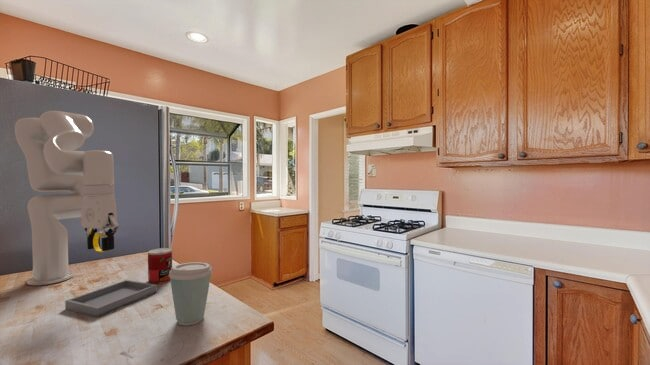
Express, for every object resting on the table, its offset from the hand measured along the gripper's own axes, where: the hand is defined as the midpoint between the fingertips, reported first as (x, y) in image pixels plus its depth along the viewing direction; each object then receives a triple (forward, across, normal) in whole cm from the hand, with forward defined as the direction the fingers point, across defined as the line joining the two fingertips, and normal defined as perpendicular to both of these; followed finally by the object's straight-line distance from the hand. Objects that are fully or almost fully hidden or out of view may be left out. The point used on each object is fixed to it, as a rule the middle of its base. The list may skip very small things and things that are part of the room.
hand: (100, 248), depth 89 cm
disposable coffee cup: (+17, +35, +1) cm, 39 cm away
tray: (+16, +3, +1) cm, 17 cm away
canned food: (+16, +1, +19) cm, 25 cm away
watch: (+1, 0, 0) cm, 1 cm away
